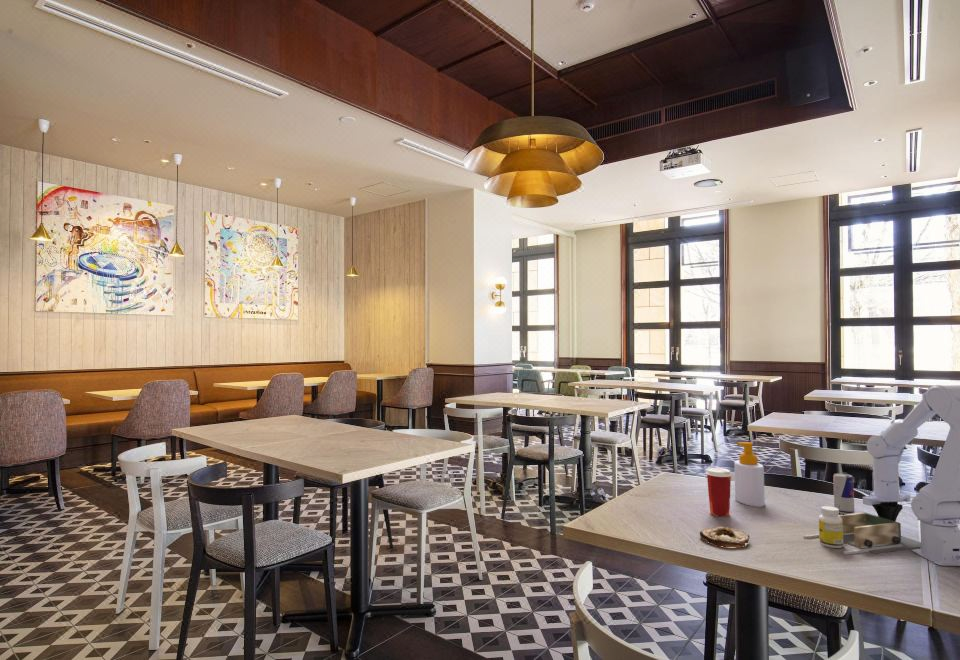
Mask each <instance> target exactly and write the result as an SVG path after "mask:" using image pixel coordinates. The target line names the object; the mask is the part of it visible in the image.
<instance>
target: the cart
mask: <svg viewBox="0 0 960 660" xmlns="http://www.w3.org/2000/svg"><path fill="white" fill-rule="evenodd" d="M838 516H839V517H840V518H841V519H842V524H843V534H846V533H854V543H855V546H854V547H856V548H858V547H864V546H867V547H872V545H880V544H888V543H896V544H899V543H900V542H901V536H902V532H901V531H902V530H901V528H902V526H901V522H898V521H896V522H895V521H892V520H889V519H886V518H882V517H879V516H878V515H875V514H873V513H868V512H857V513H856V512H854V514H845V515H843V514H839V515H838Z"/></svg>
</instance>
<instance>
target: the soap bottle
mask: <svg viewBox="0 0 960 660" xmlns="http://www.w3.org/2000/svg"><path fill="white" fill-rule="evenodd" d="M736 445H737V446H740V447H741V446H743V452H742V453H741V454H740V455H739V456H738V457H739V458H738V459H737V460H735V461H733V463H734V464H733V465H734V469H733V470H734V498H735V500H736V501H737V502H738V503H740V504H742V503H743V505H745V506H748V505H749V506H748V507H753V506H754V507H755V508H759V507H764V506H765V504H766V503H765V501H766V500H765V468H764V465H763V464H761V463H759V461H758V459H759V458H758V456H757V455H756V454H754V453H753V442H750V441H749V442H748V441H744V442H742V441H741V442H740V441H739V442H737V443H736Z"/></svg>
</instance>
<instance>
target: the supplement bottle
mask: <svg viewBox="0 0 960 660" xmlns="http://www.w3.org/2000/svg"><path fill="white" fill-rule="evenodd" d="M820 509H821V514H820V515H819V516H818V531H819V533H818V534H819V537H818V538H819V543H820V545H821V546H824V547H827V548H831V549H841V548H843V547H844V542H843V524H842V519H841V518H840V517H839V516H838V515H840V514H839V509H838V508H835V507H834V506H828V505H827V506H825V505H823V506H821V507H820Z"/></svg>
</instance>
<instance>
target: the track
mask: <svg viewBox="0 0 960 660" xmlns="http://www.w3.org/2000/svg"><path fill="white" fill-rule="evenodd" d="M814 538H820V537H819V533H815V534H803V539H814ZM843 543H844V544H848V545H849V546H853V547H855V543H854V533H846V534H843ZM857 548H858V549H851V550H843V551H842V552H843V554H844V555H846V556H847V555H857V554H863V553H872V554H875V555H876V554H883V553H892V552H898V551H899V550H900V551H906V550H905V549H908V550H915V549H914V548H916V549H921V541H919V540H915V539H913V538H910V537H906V536H903V535H901V542H900V543H899V544H896V543H888V544H880V545H872V547H867V546H864V547H857Z"/></svg>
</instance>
